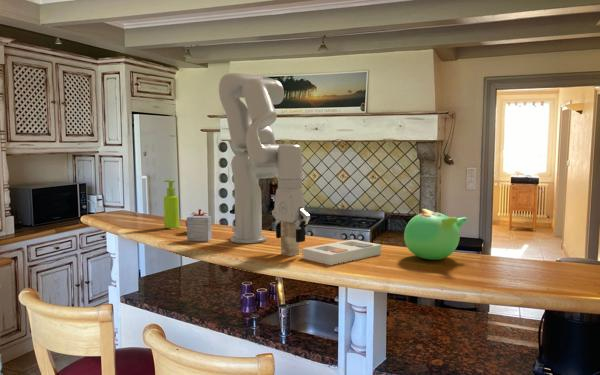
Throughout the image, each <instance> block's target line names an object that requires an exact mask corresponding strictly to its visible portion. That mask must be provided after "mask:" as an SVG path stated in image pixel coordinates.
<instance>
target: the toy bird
mask: <svg viewBox="0 0 600 375" xmlns="http://www.w3.org/2000/svg"><path fill="white" fill-rule="evenodd" d="M421 210H422V213H421V212H420V213H419V214H416V215H415V216H413V217H412V218H411V219H410V220H409V221H408V223H407V224H406V226H405V228H404V233H403V240H404V244H405V246H406V248H407V249H408V250H409V251H410V252H411V253H412V254H413V255H414V256H417V257H418V258H422V259H423V260H432V261H433V260H434V261H435V260H442V259H445V258H448V257H449V256H451V255H452V254H453V253H454V252H455V251H456V249H457V247H458V246H459V243H460V237H461V236H460V235H461V234H460V228H462V227H463V226H464V225H465V224H466V223H467V222H468V220H469V218H468V217H466V216H463V217H456V216H448V215H446V214H443V213H441V212H439V211H433V210H430V209H426V208H422V209H421Z"/></svg>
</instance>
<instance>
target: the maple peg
mask: <svg viewBox="0 0 600 375" xmlns="http://www.w3.org/2000/svg"><path fill="white" fill-rule="evenodd" d="M296 229H297V227H296V225H295V223H294V222H293V223H290V222H283V221H281V238H280V255H283V256H288V257H292V256H296V255H299V254H300V242H296Z"/></svg>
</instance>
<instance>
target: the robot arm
mask: <svg viewBox="0 0 600 375" xmlns="http://www.w3.org/2000/svg"><path fill="white" fill-rule="evenodd" d="M218 96H219V101H220V103H221V106H222V108H223V110H224V113H225V115H226V119H227V121H226V122H227V127H228V132H229V136H230V141H231V145H232V147H233V148H234V149H235V150H239V151H243V152H239V153H236V154H235V155H234V156H233V157H232V159H231V163H230V165H231V167H230V168H231V172H232V178H233V185H234V186H233V188H234V227H233V228H231V232H232V233H233V234H234V235H232V236H231V237H230V242H232V243H236V244H257V243H262V242H265V241H266V240H267V236H266V235H262V234H263V228H262V224H263V222H262V218H263V217H262V212H263V211H262V210H263V209H262V206H263V205H262V190H261V187H260V185H259V184H258V182H257V179H259V180H260V179H272V178H275V177H276V176H277V188H276V191H275V196H274V208H273V210H271V213H272V214H271V215H272V219H273V222H274V225H275V238H276V239H281V221H283V222H290V223H293V222H294V223H295V225H296V227H297V229H296V242H299V243H303V242H304V243H305V242H306V229H307V226H308V225H309V221H310V220H311V215H310V214H309V213H308V212H307V211H306V207H305V195H304V190H303V148H302V147H301V145H299V144H284V143H283V144H282V143H281V144H279V143H278V144H277V143H276V138H275V134H274V131H273V129H272V128H271V127H270V126H272V125H273V124H274V123H275V122H276V120H277V118H278V114H277V112H276V108H275V106H274V105H279V104H281V103H282V102H283V101H284V96H285V90H284V86H283V85H282V83H281V82H280V81H279V80H278V79H277V80H276V79H275V78H270V77H267V76H264V75H259V74H249V73H238V72H236V73H235V72H232V73H226V74H224V75H223V76H222V77H221V78H220V81H219V84H218ZM240 98H241V99H244V101H245V102H243V101H242V100H241V99H240Z"/></svg>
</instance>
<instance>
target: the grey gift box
mask: <svg viewBox="0 0 600 375" xmlns="http://www.w3.org/2000/svg"><path fill="white" fill-rule="evenodd" d="M186 220H187V227H186V241H187V242H209V241H211V240H212V238H213V237H212V236H213V235H212V234H213V233H212V225H211V224H212V216H209V215H205V216H204V215H203V216H193V215H189V216H188V217H186Z"/></svg>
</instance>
